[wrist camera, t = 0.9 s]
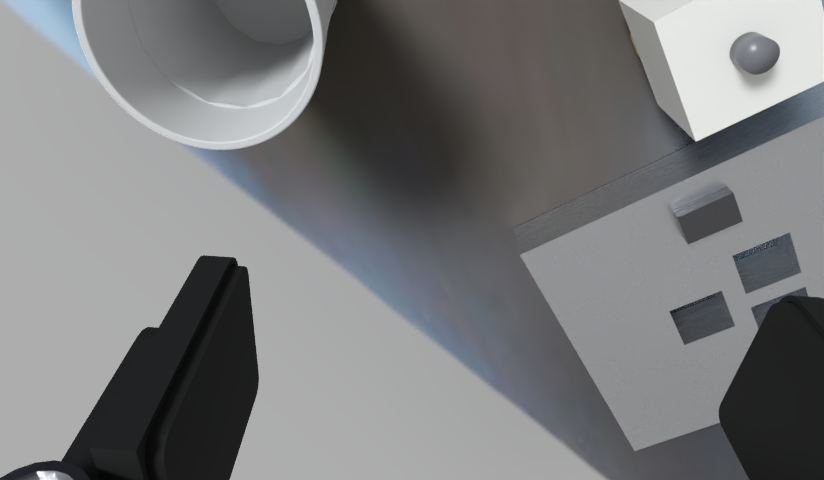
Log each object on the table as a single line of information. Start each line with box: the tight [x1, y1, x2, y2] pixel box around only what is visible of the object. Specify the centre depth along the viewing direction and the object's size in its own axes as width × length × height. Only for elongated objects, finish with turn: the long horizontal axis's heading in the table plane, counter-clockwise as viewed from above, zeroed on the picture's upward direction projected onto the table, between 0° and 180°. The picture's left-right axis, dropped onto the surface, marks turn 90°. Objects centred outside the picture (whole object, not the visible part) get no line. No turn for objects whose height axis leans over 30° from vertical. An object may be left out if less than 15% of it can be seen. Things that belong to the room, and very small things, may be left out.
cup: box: [72, 0, 337, 150], centre depth 24 cm, size 8×8×12 cm
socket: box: [513, 82, 824, 451], centre depth 37 cm, size 20×20×4 cm
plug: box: [619, 0, 824, 141], centre depth 27 cm, size 6×6×8 cm
